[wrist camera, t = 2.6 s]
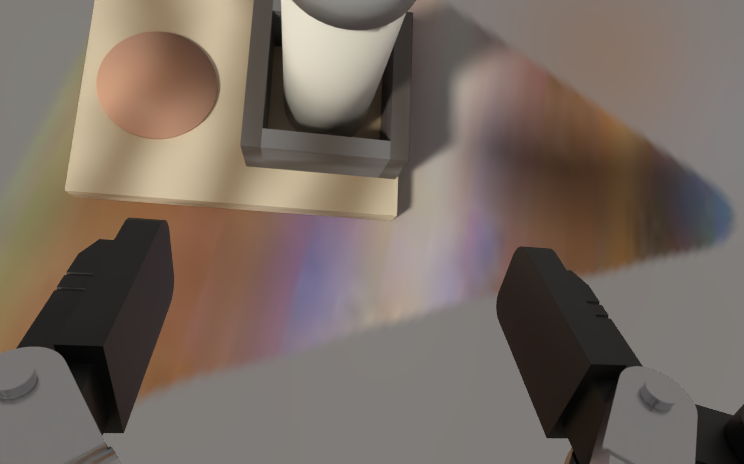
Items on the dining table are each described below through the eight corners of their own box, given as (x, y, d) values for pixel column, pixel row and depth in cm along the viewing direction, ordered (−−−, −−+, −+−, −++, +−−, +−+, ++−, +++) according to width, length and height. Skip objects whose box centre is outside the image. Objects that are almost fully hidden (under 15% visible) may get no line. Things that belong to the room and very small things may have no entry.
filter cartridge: (277, 142, 28) (265, -21, 15) (283, 56, 29) (278, -171, 16) (369, 151, 29) (438, 5, 16) (373, 67, 30) (441, -140, 16)
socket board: (76, 197, 27) (30, 171, 23) (108, -11, 30) (73, -75, 25) (391, 220, 30) (411, 202, 25) (398, 28, 32) (417, -22, 28)
